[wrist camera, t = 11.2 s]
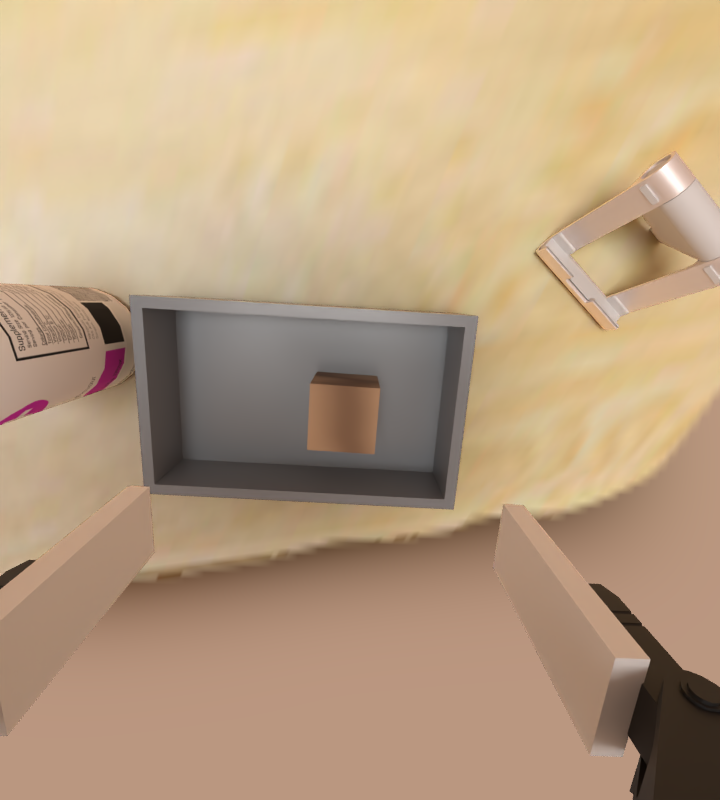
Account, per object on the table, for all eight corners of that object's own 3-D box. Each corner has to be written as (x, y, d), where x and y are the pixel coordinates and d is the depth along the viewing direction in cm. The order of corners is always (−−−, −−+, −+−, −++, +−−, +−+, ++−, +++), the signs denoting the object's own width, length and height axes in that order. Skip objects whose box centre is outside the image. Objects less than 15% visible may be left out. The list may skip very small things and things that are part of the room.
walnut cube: (314, 428, 34) (307, 449, 29) (317, 371, 33) (310, 383, 28) (372, 432, 34) (374, 454, 29) (377, 376, 33) (380, 388, 28)
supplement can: (150, 388, 34) (-4, 452, 20) (53, 384, 34) (-175, 445, 19) (142, 290, 32) (-36, 281, 18) (39, 285, 32) (-226, 272, 18)
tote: (178, 463, 36) (144, 493, 30) (169, 296, 32) (129, 294, 27) (438, 477, 36) (453, 509, 31) (457, 313, 33) (478, 315, 27)
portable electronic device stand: (531, 253, 32) (590, 237, 24) (609, 175, 30) (701, 129, 22) (598, 329, 33) (676, 338, 25) (676, 257, 32) (785, 242, 24)
